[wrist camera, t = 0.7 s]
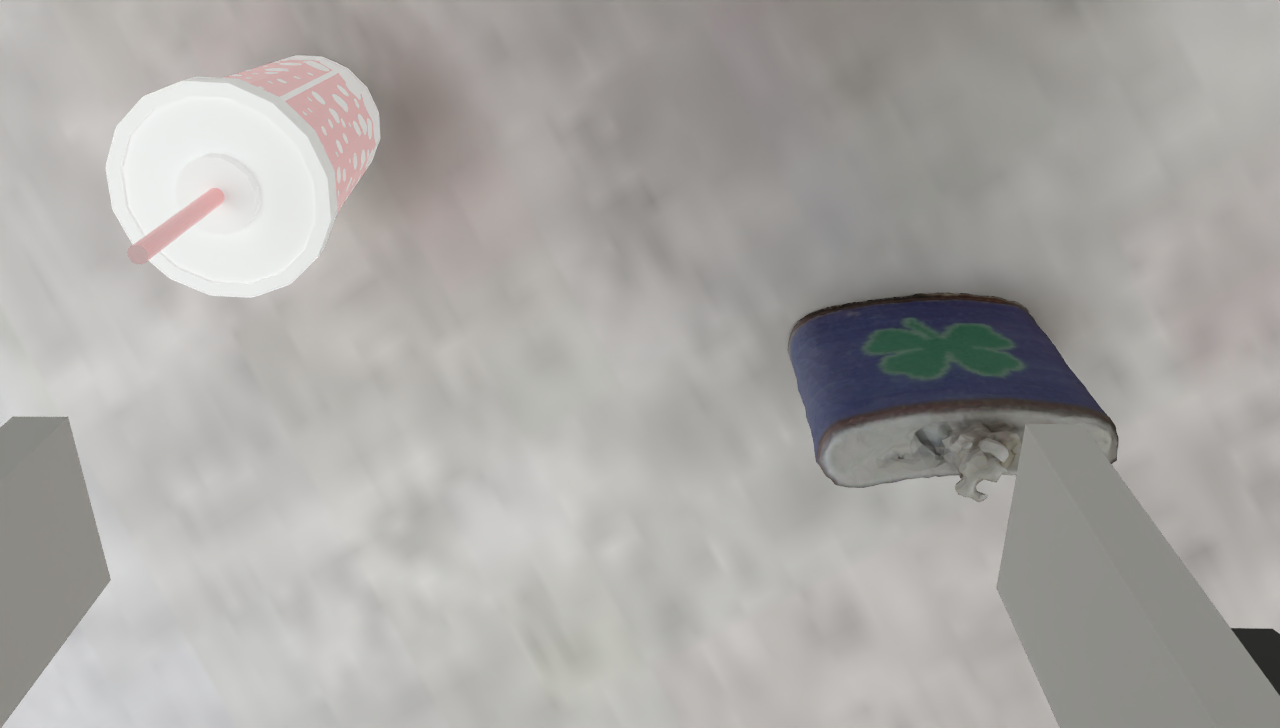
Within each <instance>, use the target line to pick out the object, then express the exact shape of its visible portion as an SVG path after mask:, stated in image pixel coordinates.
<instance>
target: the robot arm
mask: <svg viewBox="0 0 1280 728" xmlns="http://www.w3.org/2000/svg"><path fill="white" fill-rule="evenodd" d="M110 580H111V579H110V575H109V571H108V568H107V564H106V560H105V556H104V552H103V549H102V545H101V541H100V537H99V533H98V530H97V526H96V522H95V518H94V514H93V510H92V507H91V503H90V499H89V495H88V491H87V488H86V484H85V480H84V476H83V472H82V469H81V465H80V461H79V457H78V453H77V450H76V446H75V442H74V438H73V434H72V431H71V427H70V423H69V419H68V417H12V418H11V419H10V420H8V421H7V422H6V423H5V424H4V425H3V426H2V427H1V428H0V728H1V727H2V726H3V725H4V723H5V722H6V720H7V719H8V718H9V716H10V715H11V714H12V712H13V711H14V710H15V708H16V707H17V706H18V704H19V703H20V702H21V700H22V699H23V698H24V696H25V695H26V693H27V692H28V691H29V689H30V688H31V687H32V685H33V684H34V683H35V681H36V680H37V679H38V677H39V676H40V675H41V673H42V672H43V671H44V669H45V668H46V666H47V665H48V664H49V662H50V661H51V660H52V658H53V657H54V656H55V654H56V653H57V652H58V650H59V649H60V648H61V646H62V645H63V644H64V642H65V641H66V640H67V638H68V637H69V635H70V634H71V633H72V631H73V630H74V629H75V627H76V626H77V625H78V623H79V622H80V621H81V619H82V618H83V617H84V615H85V614H86V613H87V611H88V610H89V608H90V607H91V606H92V604H93V603H94V602H95V600H96V599H97V598H98V596H99V595H100V594H101V592H102V591H103V590H104V588H105V587H106V586H107V584H108V583H109V581H110ZM997 590H998V592H999V595H1000V597H1001V599H1002V601H1003V603H1004V606H1005V608H1006V610H1007V612H1008V614H1009V617H1010V619H1011V621H1012V623H1013V625H1014V628H1015V630H1016V632H1017V634H1018V636H1019V639H1020V641H1021V643H1022V645H1023V648H1024V650H1025V652H1026V654H1027V656H1028V659H1029V661H1030V663H1031V665H1032V667H1033V670H1034V672H1035V674H1036V676H1037V678H1038V681H1039V683H1040V685H1041V687H1042V689H1043V692H1044V694H1045V696H1046V698H1047V700H1048V703H1049V705H1050V707H1051V709H1052V712H1053V714H1054V716H1055V718H1056V720H1057V723H1058V725H1059V727H1060V728H1280V634H1279V633H1277V632H1276V631H1275V630H1273V629H1245V628H1230V627H1229V625H1228V624H1227V623H1226V621H1225V620H1224V619H1223V617H1222V616H1221V614H1220V613H1219V612H1218V610H1217V609H1216V608H1215V606H1214V605H1213V603H1212V602H1211V601H1210V599H1209V598H1208V597H1207V595H1206V594H1205V592H1204V591H1203V590H1202V588H1201V587H1200V586H1199V584H1198V583H1197V581H1196V580H1195V579H1194V577H1193V576H1192V575H1191V573H1190V572H1189V570H1188V569H1187V568H1186V566H1185V565H1184V564H1183V562H1182V561H1181V559H1180V558H1179V557H1178V555H1177V554H1176V553H1175V551H1174V550H1173V548H1172V547H1171V546H1170V544H1169V543H1168V542H1167V540H1166V539H1165V537H1164V536H1163V535H1162V533H1161V532H1160V531H1159V529H1158V528H1157V526H1156V525H1155V524H1154V522H1153V521H1152V520H1151V518H1150V517H1149V515H1148V514H1147V513H1146V511H1145V510H1144V509H1143V507H1142V506H1141V504H1140V503H1139V502H1138V500H1137V499H1136V498H1135V496H1134V495H1133V493H1132V492H1131V491H1130V489H1129V488H1128V487H1127V485H1126V484H1125V482H1124V481H1123V480H1122V478H1121V477H1120V476H1119V474H1118V473H1117V471H1116V470H1115V469H1114V467H1113V466H1112V465H1111V463H1110V462H1109V460H1108V459H1107V458H1106V456H1105V455H1104V454H1103V452H1102V451H1101V449H1100V448H1099V447H1098V445H1097V444H1096V443H1095V441H1094V440H1093V438H1092V437H1091V436H1090V434H1089V433H1088V432H1087V430H1086V429H1085V427H1084V426H1083V425H1082V424H1025V430H1024V436H1023V441H1022V447H1021V453H1020V458H1019V464H1018V470H1017V475H1016V481H1015V486H1014V492H1013V498H1012V503H1011V509H1010V515H1009V520H1008V526H1007V532H1006V537H1005V543H1004V549H1003V554H1002V560H1001V565H1000V571H999V577H998V582H997Z"/></svg>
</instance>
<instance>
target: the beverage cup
mask: <svg viewBox="0 0 1280 728" xmlns="http://www.w3.org/2000/svg"><path fill="white" fill-rule="evenodd" d="M379 141H380V122H379V112H378V109H377V107H376V105H375V103H374V101H373V98H372V96H371V94H370V92H369V90H368V88H367V87H366V86H365V85H364V84H363V83H362V82H361V81H360V80H359V79H358V78H357V77H356V76H355V75H354V74H353V73H352V72H351V71H350V70H349V69H348V68H347V67H344V66H342V65H340V64H338V63H336V62H334V61H331V60H329V59H327V58H325V57H323V56H302V55H295V56H292V57H289V58H286V59H282V60H279V61H276V62H273V63H269V64H266V65H263V66H260V67H256V68H253V69H250V70H247V71H243V72H240V73H237V74H234V75H230V76H227V77H224V78H215V77H192V78H190V79H185V80H183V81H180V82H178V83H175V84H173V85H170V86H167V87H165V88H162V89H160V90H157V91H155V92H152V93H150V94H147V95H145V96H143V97H142V98H141V99H140V100H139V101H138V102H137V104H136V105H135V106H134V107H133V108H132V109H131V110H130V111H129V113H128V114H127V115H126V116H125V117H124V118H123V119H122V120H121V122H120V123H119V124H118V125H117V126H116V128H115V132H114V135H113V139H112V143H111V147H110V151H109V155H108V159H107V162H106V166H105V168H106V174H107V180H108V186H109V192H110V198H111V204H112V210H113V212H114V213H115V215H116V217H117V219H118V220H119V222H120V224H121V225H122V227H123V229H124V231H125V232H126V234H127V236H128V237H129V239H130V241H131V243H132V244H133V245H132V246H131V247H130V248H129V249H128V257H129V258H130V260H131V261H132V262H134V263H136V264H143V263H145V262H147V261H148V260H149V261H150V262H151V263H152V264H153V265H154V266H156V267H157V268H158V269H159V270H160V271H161V272H162V273H164V274H165V275H166V276H167V277H168V278H169V279H172V280H174V281H176V282H179V283H181V284H184V285H186V286H188V287H191V288H193V289H196V290H198V291H201V292H203V293H205V294H208V295H210V296H227V297H248V298H253V297H256V296H259V295H262V294H265V293H268V292H270V291H273V290H276V289H279V288H282V287H285V286H287V285H290V284H291V283H292V282H293V281H294V280H295V279H296V278H297V277H298V276H299V275H300V274H301V273H302V272H303V271H304V270H305V269H306V268H308V267H309V266H310V265H311V264H312V263H313V262H314V261H315V260H316V259H317V258H318V257H319V255H320V254H321V251H322V250H323V249H324V248H325V246H326V243H327V240H328V237H329V235H330V232H331V229H332V226H333V223H334V221H335V218H336V215H337V213H338V211H339V210H340V208H341V207H342V205H343V204H344V202H345V201H346V199H347V198H348V196H349V195H350V193H351V192H352V190H353V189H354V187H355V186H356V184H357V183H358V181H359V180H360V179H361V177H362V176H363V174H364V173H365V171H366V170H367V168H368V167H369V165H370V164H371V162H372V160H373V157H374V155H375V152H376V149H377V146H378V144H379Z"/></svg>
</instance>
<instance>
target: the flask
mask: <svg viewBox="0 0 1280 728" xmlns="http://www.w3.org/2000/svg"><path fill="white" fill-rule="evenodd" d="M788 352H789V356H790V360H791V362H792V365H793V368H794V371H795V375H796V378H797V384H798V390H799V393H800V395H801V398H802V400H803V404H804V406H805V409H806V417H807V420H808V423H809V426H810V429H811V433H812V437H813V442H814V450H815V457H816V462H817V463H818V464H819V465H820V467H821V469H822V470H823V472H824V474H825V475H826V476H827V477H828V478H830V479H831V480H832V481H833V482H834V484H835V485H838V486H844V487H855V488H864V487H869V486H874V485H878V484H881V483H893V482H898V481H901V480H905V479H914V478H921V477H924V478H929V477H933V476H938V477H940V476H948V475H960V478H962V480H961V481H959V482H958V483H957V484H956V486H955V489H956V491H957V493H958V494H959V495H961V496H964V497H971V498H972V499H974V500H975V501H977V502H980V501H983V500H984V499H986V498H987V495H986V494H983V493H980V492H977V490H976V485H977V484H978V483H979V482H980V481H982V480H984V479H985V480H988V481H992V482H997V480H998V479H999V478H1000V476H1001V475H1002V474H1004V475H1017V470H1018V464H1019V458H1020V453H1021V447H1022V441H1023V436H1024V430H1025V424H1082V425H1083V426H1084V427H1085V429H1086V430H1087V432H1088V433H1089V434H1090V436H1091V437H1092V438H1093V440H1094V441H1095V443H1096V444H1097V445H1098V447H1099V448H1100V449H1101V451H1102V452H1103V454H1104V455H1105V456H1106V458H1107V459H1108V460H1109V462H1110V463H1111V464H1112V463H1113V462H1115V461H1116V460H1117V448H1118V435H1117V433H1116V427H1115V425H1114V423H1113V422H1112V420H1111V419H1110V417H1108V416H1107V414H1106V413H1105V412H1104V411H1103V410H1102V409H1101V408H1100V406H1099V405H1098V404H1097V402H1096V401H1095V400H1094V398H1093V397H1092V396H1091V395H1090V393H1089V392H1088V391H1087V389H1086V387H1085V386H1084V385H1083V384H1082V383H1081V381H1080V380H1079V379H1078V378H1077V377H1076V375H1075V374H1074V373H1073V372H1072V371H1071V369H1070V368H1069V367H1068V365H1067V364H1066V363H1065V361H1064V359H1063V358H1062V356H1061V354H1060V353H1059V351H1058V350H1057V349H1056V347H1055V346H1054V345H1053V344H1052V342H1051V340H1050V339H1049V338H1048V337H1047V335H1046V334H1045V333H1044V332H1043V331H1042V330H1041V329H1040V327H1039V326H1038V325H1037V324H1036V322H1035V320H1034V319H1033V317H1032V316H1031V315H1030V314H1029V312H1028V310H1027V308H1024V307H1023V306H1022V305H1020V304H1018V303H1017V302H1015V301H1007V300H1005V299H1003V298H998V297H994V296H992V297H989V296H974V295H969V294H962V293H961V294H960V295H957V294H956V295H955V294H951V293H946V294H944V293H935V294H929V295H926V294H919V295H918V294H916V295H913V296H912V297H902V298H900V297H899V298H896V297H894V298H889V299H884V300H882V299H880V300H875V301H873V300H870V301H869V300H868V301H867V302H864V303H863V302H861V303H859V302H858V303H856V302H854V303H852V304H850V303H848V304H846V305H842V306H832V307H830V308H829V307H827V308H826V309H822V310H820V311H819V312H815V313H812V314H809V315H807V316H805V318H804V319H802V320H799V321H798V322H797V324H796V326H795V327H794V329H793V330H792V334H791V336H790V339H789V345H788Z"/></svg>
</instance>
